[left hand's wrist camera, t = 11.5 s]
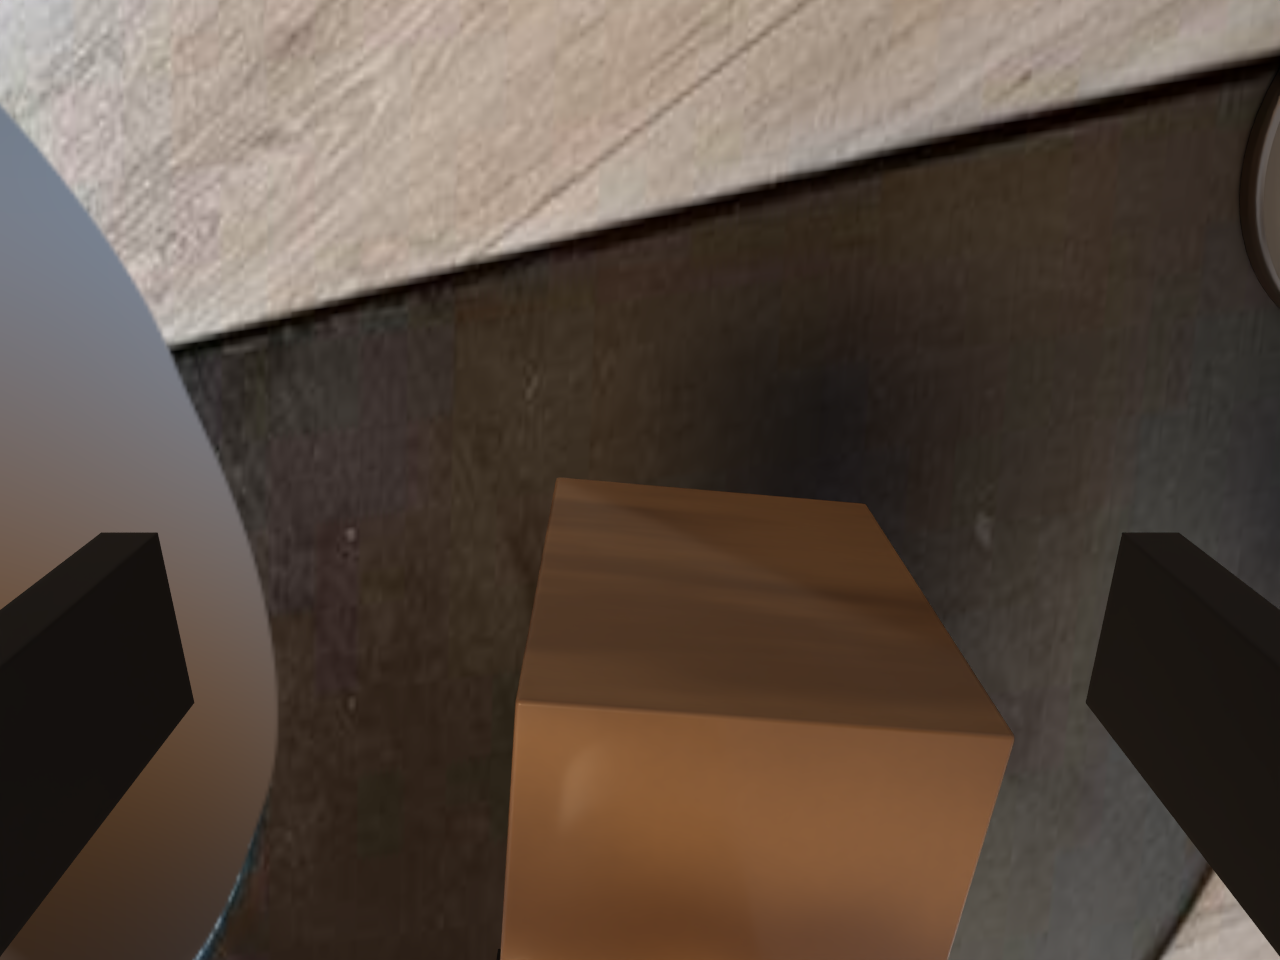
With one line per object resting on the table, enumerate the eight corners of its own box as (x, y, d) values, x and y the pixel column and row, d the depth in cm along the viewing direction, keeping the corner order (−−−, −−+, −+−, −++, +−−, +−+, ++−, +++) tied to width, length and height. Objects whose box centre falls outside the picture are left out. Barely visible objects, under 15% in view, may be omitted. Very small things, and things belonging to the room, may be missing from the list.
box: (556, 476, 25) (515, 700, 15) (866, 502, 26) (1017, 737, 16) (517, 1009, 33) (473, 1388, 23) (758, 1022, 33) (816, 1399, 23)
